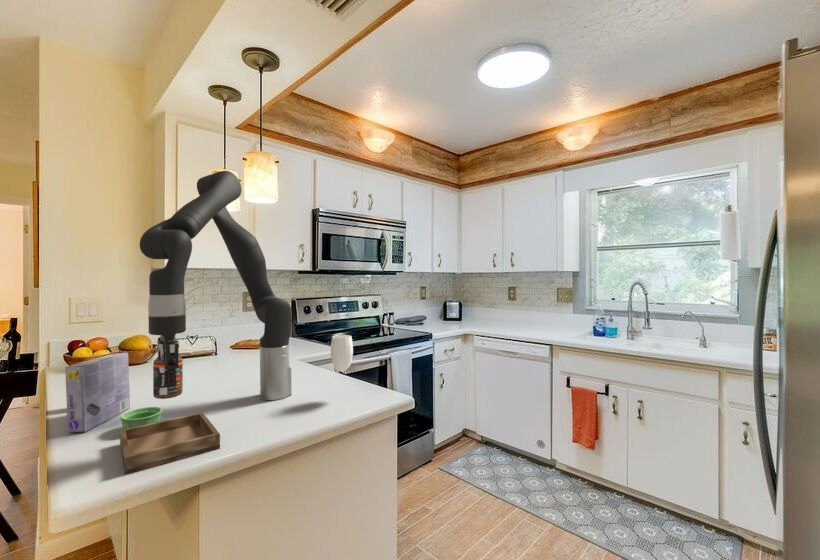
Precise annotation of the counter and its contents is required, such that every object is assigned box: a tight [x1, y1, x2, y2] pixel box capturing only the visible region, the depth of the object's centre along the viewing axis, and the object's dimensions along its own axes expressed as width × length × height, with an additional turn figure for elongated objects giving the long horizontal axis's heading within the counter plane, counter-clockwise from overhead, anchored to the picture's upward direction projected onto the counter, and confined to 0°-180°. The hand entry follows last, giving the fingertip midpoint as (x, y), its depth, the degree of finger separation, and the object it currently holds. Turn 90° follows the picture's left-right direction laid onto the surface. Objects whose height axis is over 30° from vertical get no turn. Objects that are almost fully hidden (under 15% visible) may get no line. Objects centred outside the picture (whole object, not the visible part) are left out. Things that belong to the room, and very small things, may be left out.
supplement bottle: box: [152, 349, 184, 400], centre depth 90 cm, size 6×6×11 cm
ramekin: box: [120, 406, 163, 430], centre depth 101 cm, size 9×9×4 cm
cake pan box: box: [64, 352, 131, 433], centre depth 107 cm, size 19×5×18 cm, turn 4°
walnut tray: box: [119, 412, 221, 476], centre depth 90 cm, size 18×18×4 cm
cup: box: [330, 334, 354, 373], centre depth 124 cm, size 7×7×21 cm
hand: (168, 382), depth 90 cm, fingers closed on supplement bottle, 6 cm apart
